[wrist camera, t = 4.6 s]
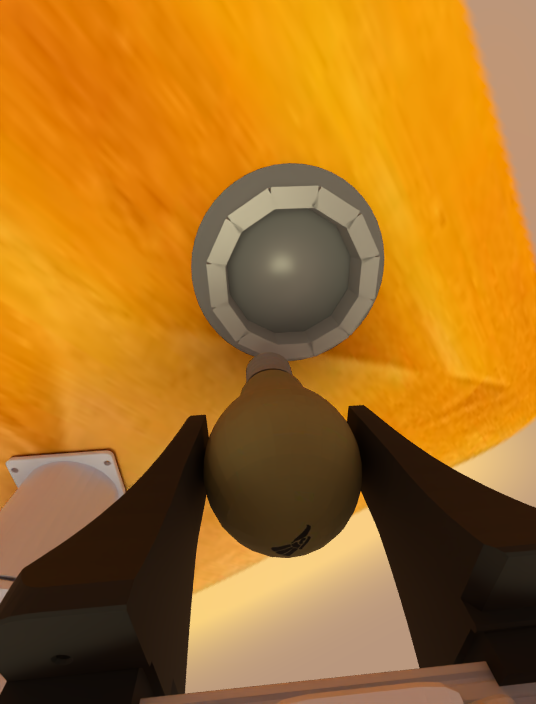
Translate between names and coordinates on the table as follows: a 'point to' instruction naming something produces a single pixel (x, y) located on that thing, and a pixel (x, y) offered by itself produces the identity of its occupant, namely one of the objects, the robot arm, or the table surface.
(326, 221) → the bulb holder
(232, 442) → the light bulb
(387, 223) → the table surface
